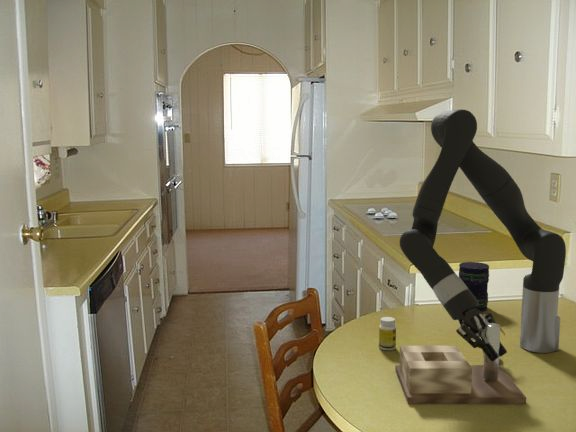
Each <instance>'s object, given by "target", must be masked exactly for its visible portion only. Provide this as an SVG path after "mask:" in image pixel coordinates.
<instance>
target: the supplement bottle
mask: <svg viewBox="0 0 576 432" xmlns="http://www.w3.org/2000/svg"><path fill="white" fill-rule="evenodd" d="M378 330H379V331H378V348H379V349H380V350H383V351H393V350H395V349H396V346H397V327H396V319H395V318H394V317H391V316H383V317H380V324H379V328H378Z"/></svg>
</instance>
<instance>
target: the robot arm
mask: <svg viewBox="0 0 576 432" xmlns="http://www.w3.org/2000/svg"><path fill="white" fill-rule="evenodd" d="M477 129H478V122H477V119H476V117H475V115H474V114H473V112H471V111H470V110H467V109H464V108H463V109H454V110H448V111H443V112H440V113H439V114H436V115H435V116H434V117H433V119H432V121H431V125H430V132H431V135H432V137H433V140H434V141H435V143H437V145H439V147H441V150H440V153H439V154H438V158H437V159H436V161H435V163H434V165H433V167H432V169H431V170H430V171H429V173H428V175H427V176H426V177H425V179H424V181H423V183H422V185H421V186H420V189H419V191H418V193H417V196H416V200H415V203H414V206H413V209H412V217H413V221H412V226H411V229H407V230H405V231H404V232H403V233H402V234H401V235H400V238H399V247H400V250H401V251H402V253H403V255H404V256H405V257H406V258H407V260H408V261H409V262H410V263H411V265H413V266H414V267H415V269H417V270H418V272H419V273H420V274H421V275H422V277H423V278H424V280H425V282H426V283H427V285H428V286H429V287H430V288H431V289H432V292H433V293H434V295H435V296H436V298H437V300H438V301H439V302H440V304H441V305H442V307H443V308H444V310H445V311H446V312H447V313H448V315H449V316H450V318H451V319H452V320H453V321H458V324H459V325H460V326H459V327H458V328H457V329H456V330H455V331H456V333H457V334H458V335H459V336H460V337H461V338H462V339H463V340H464V341H466V342H467V343H468V345H470V346H471V347H472V348H474V349H477V348H479V349H481V350H482V352H483V351H484V353H485V354H486V355H487V357H488V358H489V359H490V360H491V361H494V360H496V359H497V358H498V357H499V358H501V357H503V356H505V355H506V354H507V353H508V352H507V349H506V348H505V346H504V345H503V344H502V343H501V341H500V347H499V355H498V354H497V352H496V351H495V350H494V348H493V347H492V346H491V344H490V343H489V344H488V340H487V339H486V337H485V331H484V329H485V324H487V323H496V320H495V319H494V316H493V314H492V313H491V312H487V314H485V313H483V312H481V311H480V310H479V309H478V308H477V306H478V305H479V302H478V301H477V299H476V298H475V297H474V295H473V294H472V293H471V291H470V290H469V289H468V287H467V286H466V285H465V284H464V282H463V281H462V280H461V279H460V278H459V275H458V274H456V272H455V271H454V269H453V268H452V267H451V265H450V264H449V263H448V261H446V259H444V257H442V256H441V255H440V254H439V253H438V252H437V251H436V250H435V248H434V245H435V241H436V236H437V230H438V226H439V225H438V224H439V220H440V218H441V215H442V212H443V208H444V206H445V203H446V200H447V197H448V194H449V192H450V189H451V186H452V184H453V181H454V179H455V176H456V175H457V173H458V171H459V169H460V170H461V171H462V172H463V174H464V176H465V177H466V178H467V180H468V181H469V182H470V184H471V185H472V187H474V189H475V190H476V192H477V193H478V195H479V196H480V197H481V200H482V201H484V202H485V204H486V205H487V207H489V208H490V210H491V211H492V212H493V214H494V215H495V216H496V217H497V219H498V220H499V221H500V222H501V224H502V225H503V226H504V227H505V228H506V230H507V231H508V233H509V234H510V236H511V238H512V239H513V241H514V243H515V244H516V246H517V248H518V250H519V251H520V253H521V254H522V255H523V257H525V258H526V259H527V260H529V261H531V262H532V268H531V273H530V274H529V273H528V274H526V275H524V276H523V279H522V280H523V281H522V296H521V297H522V298H521V300H522V301H521V302H522V303H521V314H520V315H521V318H520V335H519V336H520V337H519V346H520V347H521V348H522V349H524V350H526V351H528V352H534V353H539V354H546V353H547V354H548V353H549V354H550V353H553V352H558V351H559V348H560V346H559V345H560V335H561V334H560V330H561V329H560V328H561V317H560V316H559V315H558V313H559V312H558V311H559V298H560V297H559V294H560V284H561V283H562V280H563V278H564V272H565V266H566V255H567V250H566V249H567V247H566V246H567V245H566V242H565V240H564V238H563V237H562V236H561V235H560V234H558V233H556V232H552V231H550V230H546V229H543V227H541V226H539V224H538V223H537V222H536V221H535V220H534V219H533V218H532V216H531V215H530V214H529V211H527V209H526V205H525V201H524V197H523V193H522V191H521V189H520V187H519V186H518V185H519V184H518V183H516V181H515V180H514V178H513V177H512V176H511V175H510V173H509V172H508V170H506V169H505V167H503V166H502V165H501V164H499V162H497V161H496V160H494V159H493V158H492V157H490V156H489V155H488V154H486V153H485V151H484V152H483V150H481V149H480V148H479V147H478V146H477V145H476V144H475V142H474V139H475V136H476V134H477V131H478V130H477ZM496 324H497V323H496ZM484 353H483V354H484Z"/></svg>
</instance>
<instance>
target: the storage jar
mask: <svg viewBox="0 0 576 432" xmlns="http://www.w3.org/2000/svg"><path fill="white" fill-rule="evenodd" d="M458 266H459V269H458V277H459V278H460V279H461V280H462V281H463V282H464V284H465V285H466V286H467V287H468V289H469V290H470V291H471V293H472V294H473V295H474V297H475V298H476V299H477V301H478V302H479V305H478V306H477V308H478V309H479V310H480V311H481V312H482V313H483V312H486V311H488V303H489V293H488V287H489V285H488V284H489V281H490V278H489V277H490V273H489V272H490V270H489V269H490V265H489V264H488V263H483V262H477V261H476V262H475V261H467V262H466V261H464V262H461V263H459V265H458Z"/></svg>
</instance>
